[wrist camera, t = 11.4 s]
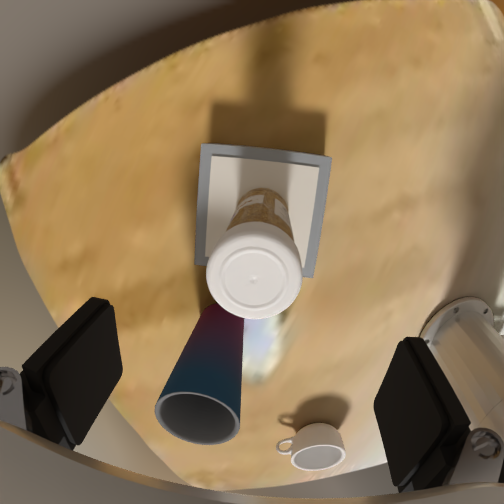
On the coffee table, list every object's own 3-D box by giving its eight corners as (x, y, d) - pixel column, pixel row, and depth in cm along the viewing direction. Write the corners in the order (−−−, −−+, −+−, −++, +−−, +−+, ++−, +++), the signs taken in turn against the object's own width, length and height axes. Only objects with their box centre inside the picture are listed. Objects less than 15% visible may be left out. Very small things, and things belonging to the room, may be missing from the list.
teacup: (346, 415, 41) (351, 443, 36) (334, 444, 43) (338, 469, 38) (279, 415, 41) (279, 443, 36) (273, 444, 44) (273, 470, 39)
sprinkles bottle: (238, 184, 26) (206, 226, 14) (292, 190, 26) (311, 237, 14) (233, 236, 28) (202, 316, 15) (285, 242, 28) (295, 327, 15)
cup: (202, 287, 35) (161, 379, 21) (260, 307, 35) (252, 408, 21) (187, 334, 37) (149, 428, 23) (240, 352, 37) (225, 452, 23)
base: (324, 155, 29) (332, 157, 25) (308, 261, 33) (313, 278, 29) (210, 143, 29) (200, 143, 25) (203, 249, 33) (194, 265, 29)
